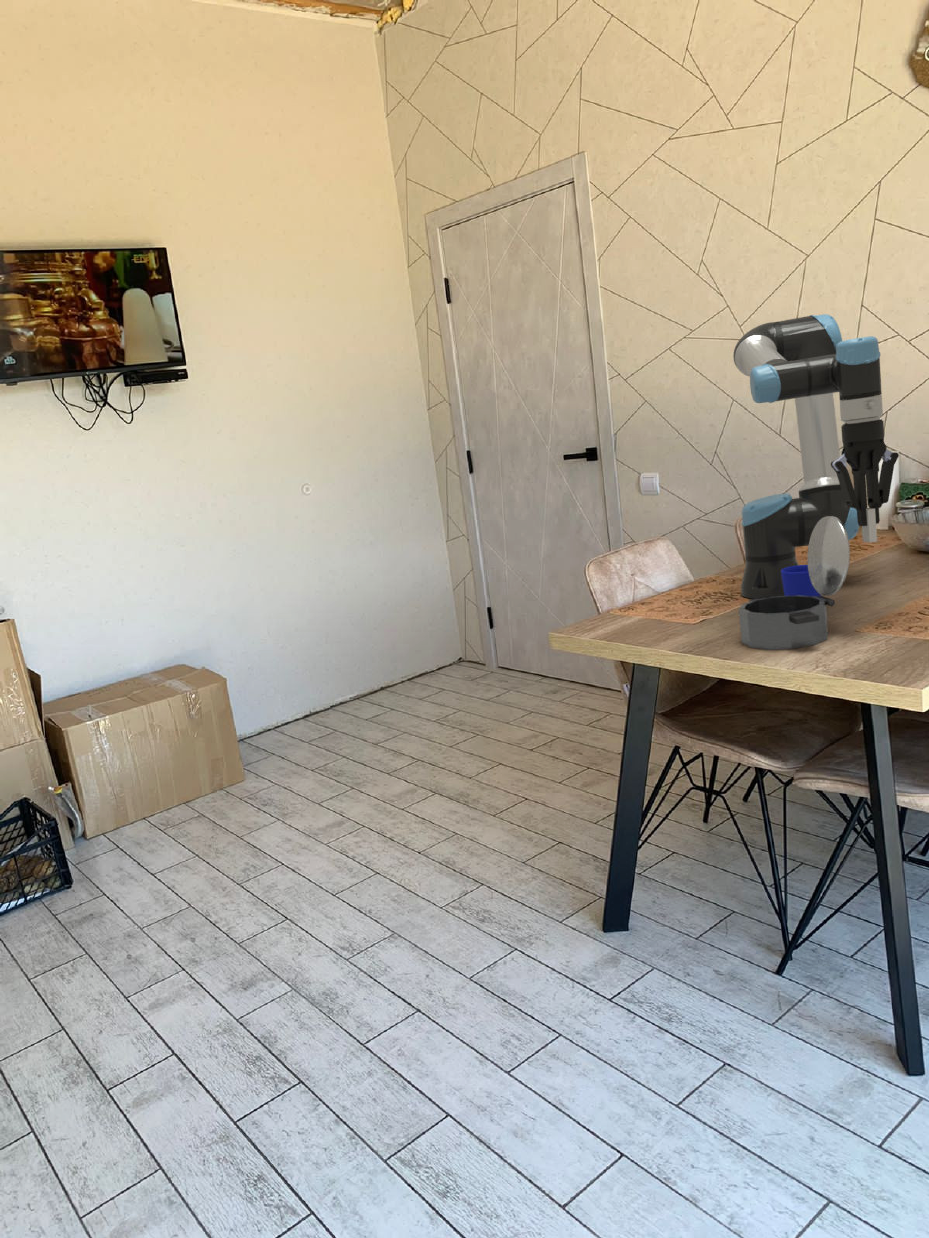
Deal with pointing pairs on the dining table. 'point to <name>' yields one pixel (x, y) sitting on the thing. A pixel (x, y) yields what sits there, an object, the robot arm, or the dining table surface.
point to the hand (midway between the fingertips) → (869, 541)
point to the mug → (797, 581)
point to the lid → (828, 555)
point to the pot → (784, 621)
